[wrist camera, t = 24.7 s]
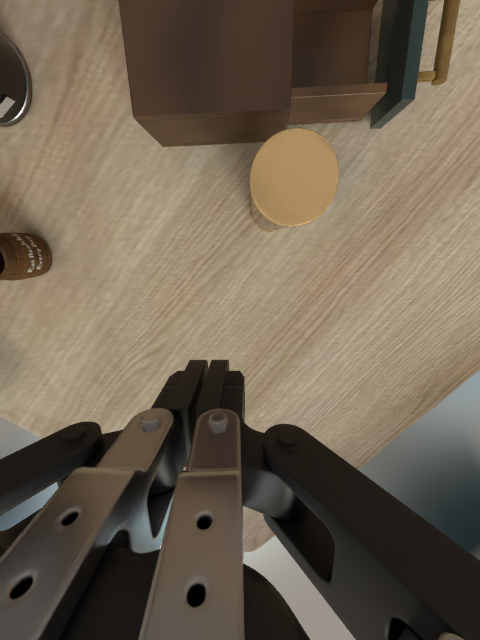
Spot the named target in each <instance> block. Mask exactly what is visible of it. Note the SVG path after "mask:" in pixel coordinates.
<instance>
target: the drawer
mask: <svg viewBox="0 0 480 640" xmlns="http://www.w3.org/2000/svg"><path fill="white" fill-rule="evenodd" d="M377 1H378V0H294V17H293V55H292V93H291V111H290V114H289V117H288V121H287V124H286V125H290V124H310V123H331V122H351V121H360V120H361V119H362V118H363V117H364V116H365V115H366V114H367V113H368V112H369V111H370V109H371V108H372V114H371V124H370V129H374V128H381V127H382V126H384V125H385V124H386V123H387V122H388V121H389V120H391V119H392V118H393V117H394V116H395V115H397V114H398V113H399V112H400V111H401V110H403V109H404V108H405V107H406V106H407V105H409V104H410V103H411V102H412V101H413V100H414V99H415V92H416V85H417V82H429V81H432V83H431V84H432V85H439V84H442V83H444V82H445V81H446V80H447V75H448V69H449V63H450V58H451V52H452V46H453V40H454V34H455V28H456V22H457V16H458V10H459V4H460V0H444V6H443V12H442V19H441V25H440V31H439V38H438V44H437V51H436V57H435V63H434V70H433V71H425V72H418V71H419V64H420V57H421V50H422V43H423V36H424V29H425V22H426V15H427V8H428V1H433V0H383V8H382V18H381V27H380V37H379V47H378V56H377V66H376V76H375V83H372V84H366V76H367V66H368V55H369V45H370V34H371V24H372V13H373V8H374V6H375V5H376V3H377Z"/></svg>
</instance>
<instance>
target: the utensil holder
mask: <svg viewBox="0 0 480 640" xmlns="http://www.w3.org/2000/svg"><path fill="white" fill-rule="evenodd" d="M51 264H52V255H51V252H50V249H49V247H48V246H47V245H46V243H45V242H44V241H43V240H41V239H40V238H39V237H37V236H35V235H32V234H27V233H0V280H21V279H26V278H32V277H36V276H40V275H42V274H44V273H46V272H47V271H48V270H49V268H50V267H51Z"/></svg>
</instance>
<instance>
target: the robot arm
mask: <svg viewBox="0 0 480 640" xmlns="http://www.w3.org/2000/svg"><path fill="white" fill-rule="evenodd" d="M31 98H32V83H31V77H30V73H29V70H28V67H27V65H26V63H25V61H24V59H23V57H22V55H21V54H20V52H19V51H18V49H17V48H16V47H15V46H14V45H13V44H12V43H11V42H10V41H9V40H8V39H7V38H5V37H4V36H3V35H2V34H0V127H6V126H11V125H14V124H16V123H17V122H19V121H20V120H21V119H22V118H23V117H24V116H25V115H26V113H27V111H28V109H29V106H30V103H31ZM244 418H245V387H244V376H243V375H242V373H241V372H240V371H229V361H228V360H212V361H211V363H210V366H209V369H208V362H207V360H190V361H189V363H188V365H187V367H186V369H185V371H177V372H176V373H174V374H173V375H172V376H170V377H169V379H168V380H167V382H166V384H165V386H164V387H163V389H162V392H160V394H159V396H158V397H157V399H156V401H155V402H154V404H153V406H152V408H151V409H148V410H145V411H143V412H141V413H139V414H137V415H136V416H134V417H133V418H132V419H131V420H130V422H129V423H128V424H127V426H126V427H125V428H124V430H120V431H115V432H111V433H106V434H102V432H101V428H100V426H99V425H98V424H97V423H95V422H80V423H76V424H73V425H70V426H68V427H66V428H64V429H62V430H60V431H58V432H55V433H53V434H51V435H49V436H47V437H45V438H43V439H41V440H39V441H37V442H35V443H33V444H31V445H29V446H27V447H25V448H23V449H21V450H19V451H16V452H14V453H13V454H10V455H8V456H6V457H4V458H2V459H0V516H2V515H3V514H4V513H6V512H7V511H9V510H10V509H12V508H14V507H16V506H17V505H19V504H21V503H22V502H24V501H26V500H27V499H29V498H31V497H32V496H34V495H35V494H37V493H39V492H40V491H42V490H44V489H45V488H47V487H49V486H50V485H52V484H54V483H55V482H57V483H58V487H59V488H58V489H57V491H56V492H55V493H54V494H53V495H52V497H51V498H50V499H49V500H48V501H47V503H46V504H45V505H44V506H43V508H41V509H40V510H38V511H36V512H35V513H33V514H32V515H30V516H29V517H27V518H25V519H24V520H22V521H21V522H19V523H18V524H16V525H15V526H13V527H11V528H9V529H8V530H4V531H0V640H310V639H309V637H308V636H307V634H306V632H305V631H304V629H303V628H302V626H301V624H300V623H299V622H298V620H297V618H296V616H295V615H294V613H293V612H292V610H291V609H290V607H289V606H288V604H287V603H286V601H285V600H284V598H283V597H282V596H281V594H280V593H279V592H278V591H277V590H276V588H275V587H274V586H273V585H272V584H271V583H270V582H269V581H268V580H267V579H266V578H265V577H264V576H262V575H261V574H260V573H258V572H257V571H256V570H254V569H253V568H251V567H249V566H247V565H245V564H244V539H243V506H245V507H248V508H250V509H253V510H255V511H258V512H261V513H263V516H264V519H265V521H266V523H267V525H268V526H269V527H270V529H271V530H272V531H273V533H274V534H275V535H276V536H277V538H278V539H279V540H280V542H281V543H282V544H283V546H284V547H285V548H286V549H287V551H288V552H289V553H290V555H291V556H292V557H293V559H294V560H295V561H296V562H297V564H298V565H299V566H300V568H301V569H302V570H303V571H304V573H305V574H306V575H307V577H308V578H309V579H310V581H311V582H312V583H313V584H314V586H315V587H316V588H317V590H318V591H319V592H320V594H321V595H322V596H323V598H324V599H325V600H326V601H327V603H328V604H329V605H330V607H331V608H332V609H333V610H334V612H335V613H336V614H337V616H338V617H339V618H340V619H341V621H342V622H343V624H344V625H345V626H346V628H347V629H348V630H349V631H350V633H351V634H352V635H353V637H354V638H355V639H356V640H480V561H479V560H478V559H477V558H476V557H474V556H473V555H472V554H470V553H469V552H468V551H466V550H465V549H464V548H462V547H461V546H459V545H458V544H457V543H455V542H454V541H453V540H451V539H450V538H449V537H447V536H446V535H445V534H443V533H442V532H440V531H439V530H438V529H437V528H435V527H434V526H432V525H431V524H430V523H428V522H427V521H426V520H424V519H423V518H422V517H420V516H419V515H418V514H416V513H415V512H414V511H412V510H411V509H410V508H408V507H407V506H406V505H404V504H403V503H402V502H400V501H399V500H397V499H396V498H395V497H393V496H392V495H391V494H389V493H388V492H387V491H385V490H384V489H383V488H381V487H380V486H379V485H377V484H376V483H375V482H373V481H372V480H370V479H369V478H368V477H367V476H365V475H364V474H362V473H361V472H360V471H358V470H357V469H356V468H354V467H353V466H352V465H350V464H349V463H348V462H346V461H345V460H344V459H342V458H341V457H340V456H338V455H337V454H336V453H334V452H333V451H331V450H330V449H329V448H327V447H326V446H325V445H323V444H322V443H321V442H319V441H318V440H317V439H315V438H314V437H313V436H311V435H310V434H309V433H307V432H306V431H305V430H303V429H301V428H299V427H297V426H294V425H290V424H279V425H275V426H272V427H270V428H269V429H268V430H267V431H266V432H265V433H262V432H259V431H255V430H253V429H251V428H250V427H248V426H247V425H246V424H245V423H244ZM184 467H187V468H186V471H183V468H184ZM161 543H162V544H161ZM160 546H161V548H160Z"/></svg>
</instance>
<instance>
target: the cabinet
mask: <svg viewBox="0 0 480 640" xmlns="http://www.w3.org/2000/svg"><path fill="white" fill-rule="evenodd" d="M119 7H120V15H121V23H122V31H123V39H124V47H125V55H126V63H127V71H128V79H129V87H130V95H131V103H132V111H133V118H134V119H135V120H136V121H137V122H138V123H139V124H140V125H141V126H142V127H143V128H144V129H145V130H146V131H147V132H148V133H149V134H150V135H152V136H153V137H154V138H155V139H156V140H157V141H158V142H159V143H160V144H161V145H162V146H163V147H169V146H191V145H212V144H234V143H256V142H266V141H267V140H268V139H269V138H270V137H272V136H273V135H275V134H276V133H278V132H280V131H283V130H285V127H286V124H287V121H288V117H289V114H290V111H291V93H292V55H293V17H294V0H119Z"/></svg>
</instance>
